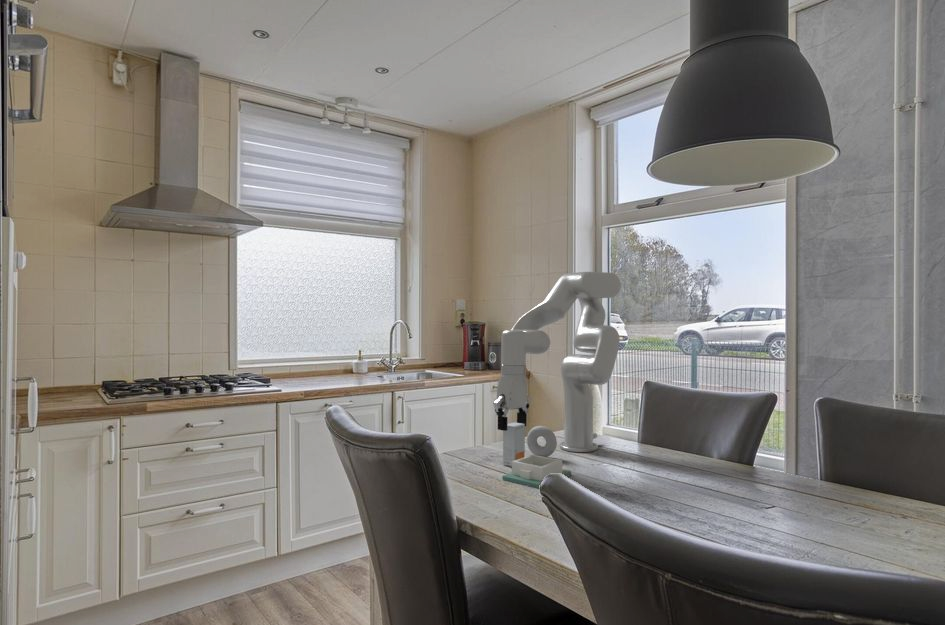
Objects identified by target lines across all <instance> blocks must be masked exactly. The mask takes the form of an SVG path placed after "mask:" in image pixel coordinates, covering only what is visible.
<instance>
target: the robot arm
mask: <svg viewBox="0 0 945 625" xmlns="http://www.w3.org/2000/svg"><path fill="white" fill-rule="evenodd" d="M621 288H622V283H621V279H620V277H619V276H618V275H617V274H615V273H613V272H601V271H599V272H597V271H579V272H577V271H576V272H569V273H565V274H563V275H561V276H560V277H559V278H558V280H557V281H556V283H555V284H554V285H553V286H552V289H551V290H550V291H549V292H548V294H547V295H546V297H545V298H544V300H543V301H542V302H541V303H539V304H538V305H536V306H534V307H533V308H532V309H531V310H529V311H527V312H526V313H525V314H523V315H522V316H521V317H519V319H518V320H517V321H516V322H515V323H514V325H513V327H512V328H511V329H507V330H506V329H505V330H503V332H502V333H501V340H500V341H501V343H500V344H501V348H500V375H499V378H498V382H497V388H496V399H495V401H494V402H493V407H494V412H495V414H496V416H497V430H498V431H502V432H503V431H507V424H508V416H507V415H508V413H509V411H511V410H517V411H518V412H516V423H522V424H525V427H527V421H528V420H527V414H528V412H529V408H530V402H531V397H530V396H529V395H528V386H527V376H526V374H527V369H526V368H527V354H528V355H541V354H545V353H546V352H547V351H548V350H549V348H550V347H551V338H550V336H549V335H548V333H546V332H545V331H543V330H540V329H542V328H543V327H545V326H549V325H551V324H555V323H557V322H560V321H561V320H563V319H564V318H565V317H566V315H567V314H568V313H569V311H570V309H571V308H572V306H573V305H574V303H575V302H576V300H578V301H579V305H580V314H579V315H580V316H579V320H578V322H577V326H576V329H575V332H574V336H573V343H572V344H573V346H574V348H575V350H576V351H579V352H581V353H589V354H581V353H580V354H578V353H577V354H576V353H575V354H569V355H567V356H566V357H564V358H563V359H562V362H561V363H560V373H561V377H562V383H563V416H564V417H563V426H564V427H563V428H564V431H563V437H564V438H563V439H564V441H561V442H560V443H559V448H560V449H561V450H563V451H567V452H573V453H574V452H575V453H590V452H594V451H597V450H598V448H599V447H598V444H597V443H595V442H594V439H597V438H598V434H597V433H596V432H594V414H593V413H594V411H593V410H594V409H593V408H594V405H593V404H594V400H593V399H594V398H593V397H594V396H593V392H592V389H591V387H590V385H596V386H597V385H598V386H602V385H606V384H607V383H608V382H609V381H610V379H611V378H612V377H611V376H612V374H613V372H614V371H613V370H614V369H615V364H616V360H617V357H618V353H619V349H620V341H621V340H620V334H619V332H618V330H617V329H616V328H615V327H614V326H611V325H605V320H606V315H607V314H606V311H605V307H604V306H603V304H602V302H601V301H600V299H612V298H614V297H617V296H618V295H619V293H620V291H621ZM592 354H593V355H592Z"/></svg>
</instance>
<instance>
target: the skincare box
mask: <svg viewBox="0 0 945 625" xmlns="http://www.w3.org/2000/svg"><path fill="white" fill-rule="evenodd" d="M525 427H526V426H525V424H522V423H517V422H510V423H507V431H503V430H502V465H503V466H507V465H508V466H507V467H512V461H515V460H518V459H521V458H524V457H526V456H525V455H526V452H525V450H526V448H525V447H526V446H525V441H526V440H525V439H526V437H525V436H526V434H525V433H526V432H525V430H526V428H525Z"/></svg>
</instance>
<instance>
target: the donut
mask: <svg viewBox="0 0 945 625" xmlns="http://www.w3.org/2000/svg"><path fill="white" fill-rule="evenodd" d="M539 437H541V438H543V439H544V440H545V445H544V446H541V445H540V444H539V443H538V439H539ZM526 446H527V448H528V449H529V451H530V452H531V453H532V455H537V456H542V457H548V458H549V457H550V456H552V454H554V453H555V451H556V449H557V446H558V441H557V437H556V435H555V433H554V432H553V431H552V429H551V428H549V427H547V426H544V425H536V426H534V427H532V428H531V429H530V430H529V431H528V434H527V435H526Z"/></svg>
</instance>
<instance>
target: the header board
mask: <svg viewBox="0 0 945 625" xmlns="http://www.w3.org/2000/svg"><path fill="white" fill-rule="evenodd" d="M550 473H562V474H564V475H565V476H567V477H569V476H571V475H572V470H567V469H564V468H563V459H558V458H553V457H549V456H548V457H542V456H537V455H534V454H530V455H527V456H525V457H524V458H521V459H518V460H515V461H512V466H511V472H509V473H507V474H504V475H502V479H503V481H506V480H507V482H510V481H511V483H514V482H515V484H519V485H522V486H527V485H528V487H532V488H535V489H536V488H537V489H540V488H539V485H540V484H541V482H542V481H543V479H544V477H545V476H546V475H548V474H550ZM568 475H569V476H568Z"/></svg>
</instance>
